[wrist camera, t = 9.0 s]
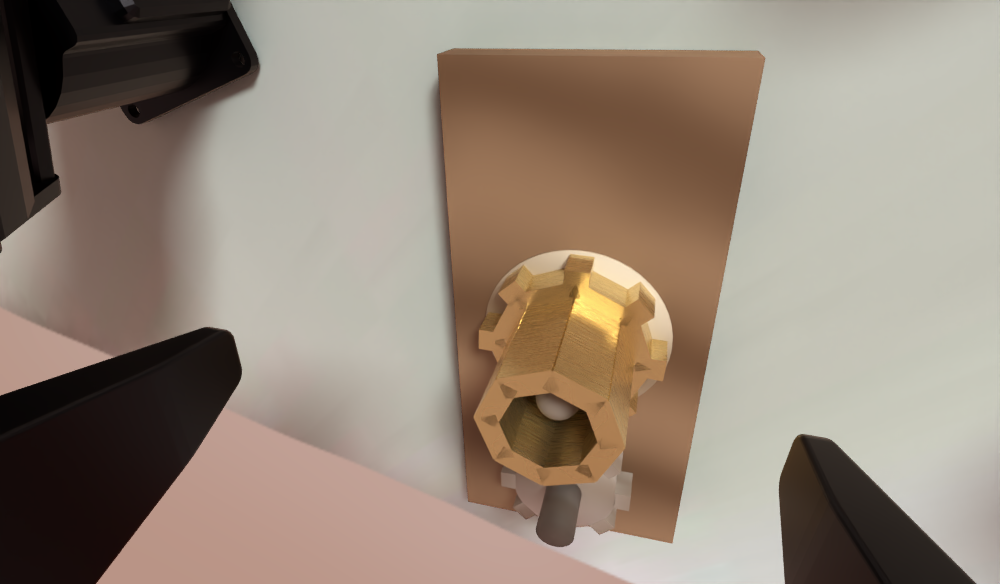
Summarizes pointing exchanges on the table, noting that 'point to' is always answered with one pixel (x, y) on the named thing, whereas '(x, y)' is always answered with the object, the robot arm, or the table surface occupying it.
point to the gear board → (596, 238)
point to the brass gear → (566, 370)
